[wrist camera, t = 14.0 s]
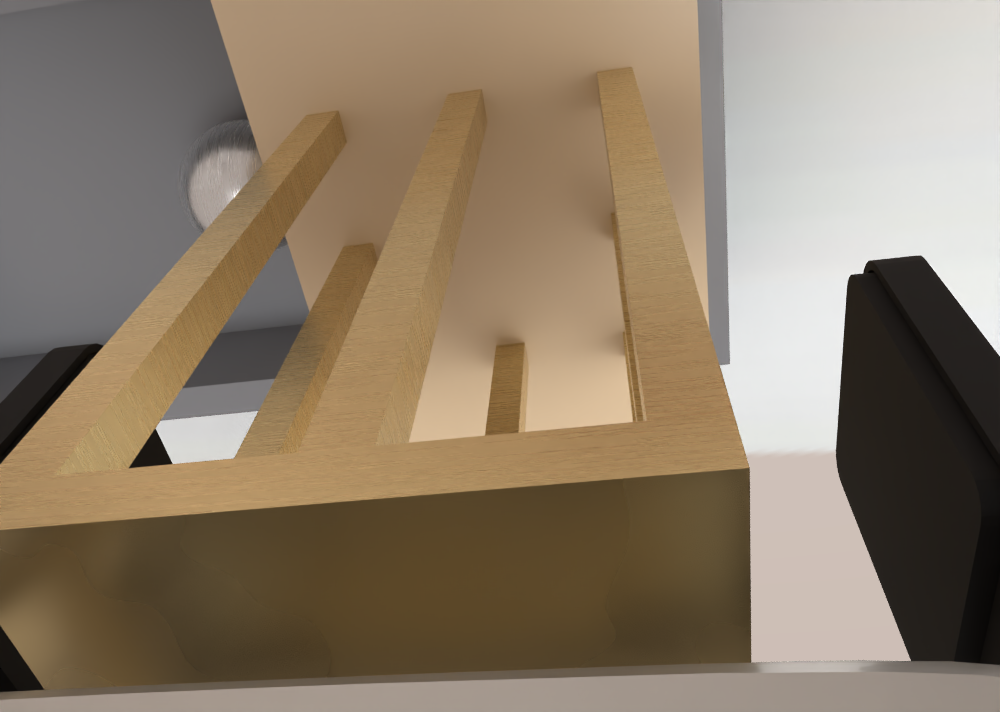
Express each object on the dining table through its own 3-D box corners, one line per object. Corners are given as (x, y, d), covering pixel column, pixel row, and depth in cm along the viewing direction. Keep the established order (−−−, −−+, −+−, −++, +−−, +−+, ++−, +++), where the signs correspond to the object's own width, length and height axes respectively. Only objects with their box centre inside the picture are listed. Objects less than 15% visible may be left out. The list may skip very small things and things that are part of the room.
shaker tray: (-227, -3, 22) (-566, 71, 16) (690, -172, 19) (760, -170, 12) (-13, 372, 29) (-190, 541, 22) (707, 292, 25) (760, 461, 19)
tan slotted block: (306, 114, 15) (-62, 534, 6) (631, 66, 14) (749, 468, 5) (381, 381, 18) (206, 924, 9) (654, 353, 17) (753, 917, 8)
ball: (132, 154, 20) (270, 135, 19) (192, 112, 23) (312, 95, 22) (184, 284, 21) (310, 270, 21) (232, 230, 24) (345, 216, 24)
